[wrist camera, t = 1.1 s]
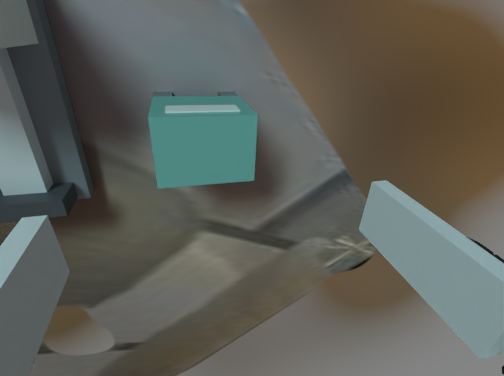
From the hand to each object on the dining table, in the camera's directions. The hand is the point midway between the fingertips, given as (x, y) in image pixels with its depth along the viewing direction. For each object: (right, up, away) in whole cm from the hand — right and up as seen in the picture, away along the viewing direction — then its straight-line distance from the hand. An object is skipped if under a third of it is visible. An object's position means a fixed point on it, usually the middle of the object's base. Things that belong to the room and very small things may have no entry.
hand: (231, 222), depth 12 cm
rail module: (-4, +8, +14) cm, 17 cm away
